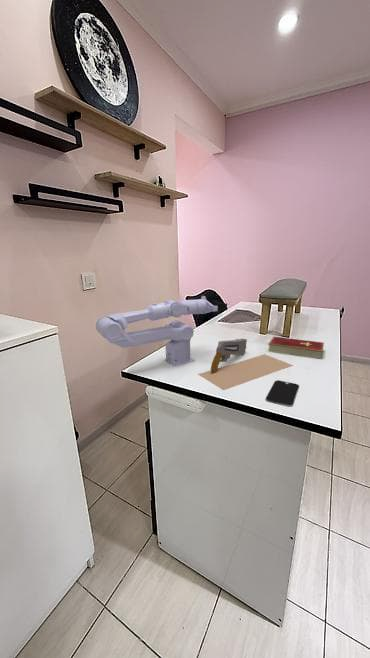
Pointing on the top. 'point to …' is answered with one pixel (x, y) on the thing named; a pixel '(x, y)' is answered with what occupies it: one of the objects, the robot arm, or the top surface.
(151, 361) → the top surface
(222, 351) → the gun
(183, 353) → the robot arm
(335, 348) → the top surface
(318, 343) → the hardcover book
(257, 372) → the mat
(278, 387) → the smartphone
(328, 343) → the top surface
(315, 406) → the top surface
